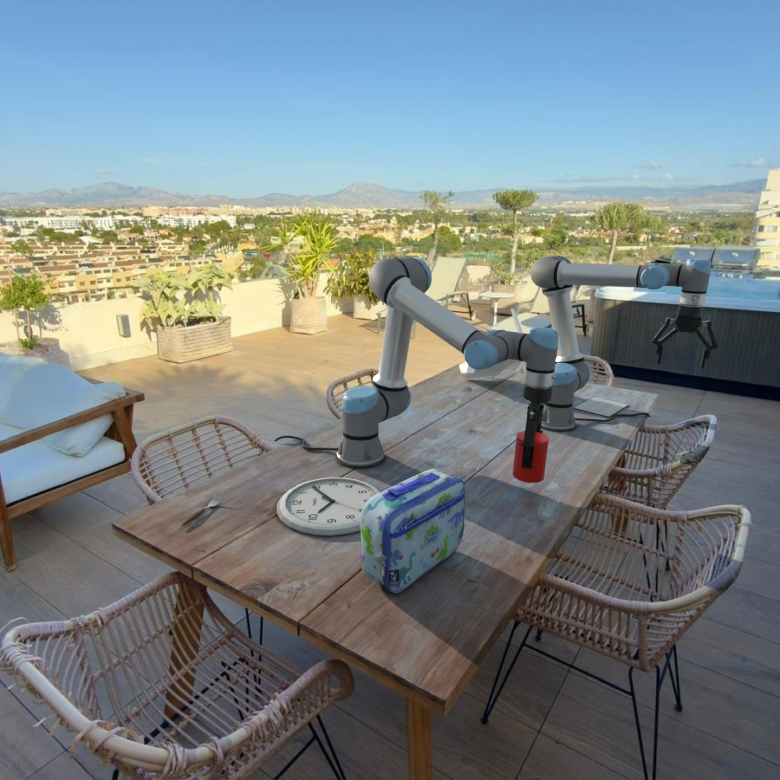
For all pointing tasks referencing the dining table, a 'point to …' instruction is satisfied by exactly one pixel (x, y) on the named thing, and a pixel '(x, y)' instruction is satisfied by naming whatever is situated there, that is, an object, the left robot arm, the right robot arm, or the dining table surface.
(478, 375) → the white plastic object
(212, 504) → the fork
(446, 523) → the lunch box
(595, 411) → the invitation card
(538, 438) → the tin
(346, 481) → the wall clock
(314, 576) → the dining table surface
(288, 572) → the dining table surface
